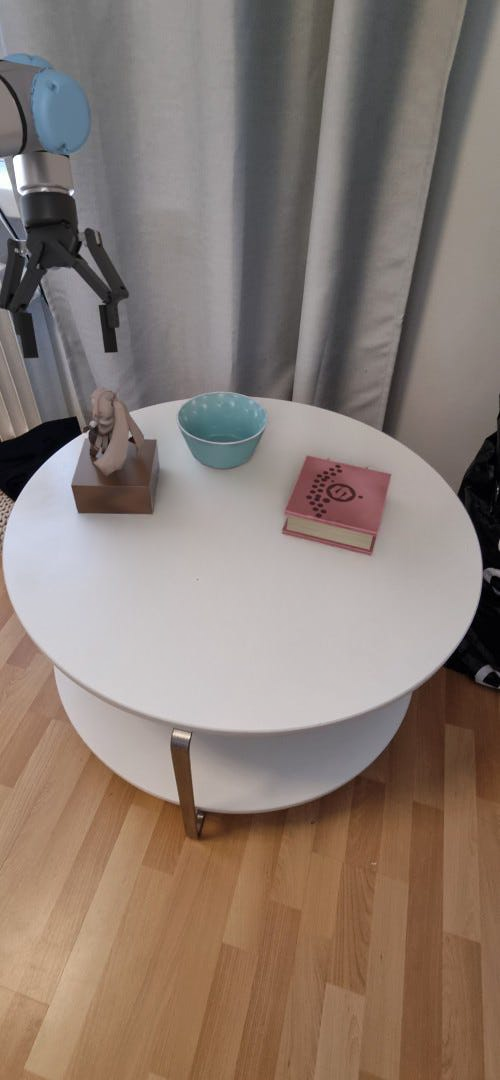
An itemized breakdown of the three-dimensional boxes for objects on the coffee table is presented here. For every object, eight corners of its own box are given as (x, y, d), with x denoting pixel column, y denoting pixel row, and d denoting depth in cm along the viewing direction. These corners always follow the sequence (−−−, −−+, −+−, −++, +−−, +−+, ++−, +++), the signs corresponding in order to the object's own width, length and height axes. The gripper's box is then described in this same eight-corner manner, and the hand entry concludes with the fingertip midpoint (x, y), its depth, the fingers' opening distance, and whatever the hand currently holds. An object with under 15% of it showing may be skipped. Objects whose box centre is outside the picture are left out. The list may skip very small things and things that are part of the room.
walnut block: (77, 513, 94) (70, 485, 90) (90, 465, 103) (84, 437, 98) (152, 514, 95) (149, 486, 90) (159, 466, 103) (156, 439, 99)
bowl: (186, 424, 112) (184, 387, 106) (268, 431, 111) (270, 393, 105) (171, 478, 101) (168, 439, 95) (262, 485, 100) (264, 447, 94)
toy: (110, 431, 99) (118, 363, 86) (147, 461, 97) (161, 397, 85) (69, 457, 93) (72, 389, 81) (108, 490, 92) (116, 426, 80)
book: (386, 493, 100) (392, 470, 97) (371, 556, 90) (377, 533, 86) (304, 474, 103) (307, 452, 99) (281, 533, 93) (284, 510, 89)
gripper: (140, 190, 82) (157, 349, 88) (-11, 212, 88) (15, 359, 95) (115, 176, 75) (135, 350, 81) (-47, 201, 81) (-17, 360, 88)
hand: (70, 355), depth 88 cm, fingers open, 13 cm apart
